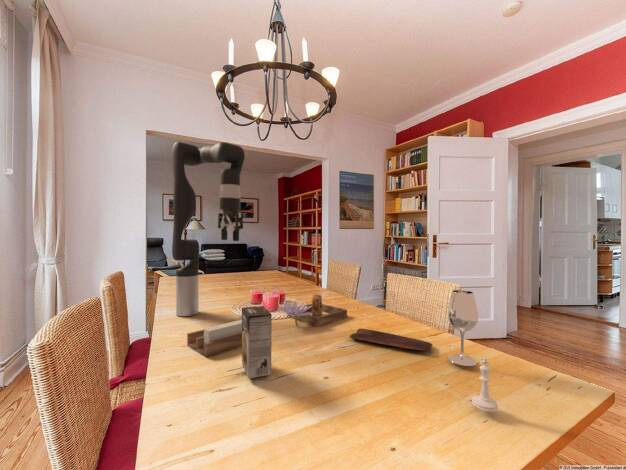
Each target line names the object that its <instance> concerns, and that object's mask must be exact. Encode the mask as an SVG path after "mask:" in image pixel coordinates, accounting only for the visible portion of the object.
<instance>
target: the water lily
mask: <svg viewBox="0 0 626 470" xmlns="http://www.w3.org/2000/svg"><path fill="white" fill-rule="evenodd" d="M305 305H306V301H304V302H303V303H302V304H301V305H300V306H299V304H298V302H297V301H294V302H293V303H292V304H290V303H288V302H285V303H283V306H278V308H279V310H280V311H281V312H284V313H286V314H287V313H288V315H290V316H295V320H294V321H295V326H296V327H299V325H298V321H297V318H296V315H299V316H305V315H312V312H307V313H303V312H305V311H306V310H308V309H309V308H311V307H312V306H309V307H307V306H305ZM304 306H305V307H304ZM298 307H299V308H298ZM300 313H301V314H300Z"/></svg>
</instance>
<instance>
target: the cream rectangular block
mask: <svg viewBox="0 0 626 470" xmlns="http://www.w3.org/2000/svg"><path fill="white" fill-rule="evenodd" d="M203 330H204V348H205V343H208V342H211V341H215V340H219V339H222V338H226V337H229V336H233V335H237V334H240V333H242V319H239V320H238V319H237V320H234V321H231V322H227V323H223V324H222V323H221V324H218V325H213V326H209V327H205V328H203Z"/></svg>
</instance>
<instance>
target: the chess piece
mask: <svg viewBox="0 0 626 470" xmlns="http://www.w3.org/2000/svg"><path fill="white" fill-rule="evenodd" d="M480 364H481V365H480V366H479V370H480V373H481V375H480V376H479V378H478V379H479V380H480V381H481V389H480V394H478V395H474V396H472V398H471V403H472V405H473V406H474V407H476V408H478V409H479V410H482V411H485V412H495V411H498V409H499V405H498V403H497V401H496V400H494V399H493V398H491V397H490V393H489V386H488V383H489V382H491V381H492V380H491V378H490V377H488V376H489V374H490V372H491V368H490V366H487V365H489V364H490V361H489V360H488V359H487V358H486V357H484V358H483V360H481V361H480Z"/></svg>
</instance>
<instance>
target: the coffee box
mask: <svg viewBox="0 0 626 470" xmlns="http://www.w3.org/2000/svg"><path fill="white" fill-rule="evenodd" d="M272 316H273V314H272V312H270V311H269V310H268V309H267V308H266V307H264V305H262V306H246V307H242V308H241V320H242V347H241V358H242V359H241V362H242V367H243V370H244V372H245V374H246V376H247V379H254V378H259V377H263V376H270V375H272V338H273V337H272V333H273V332H272V329H273V328H272V325H273V323H272Z"/></svg>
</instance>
